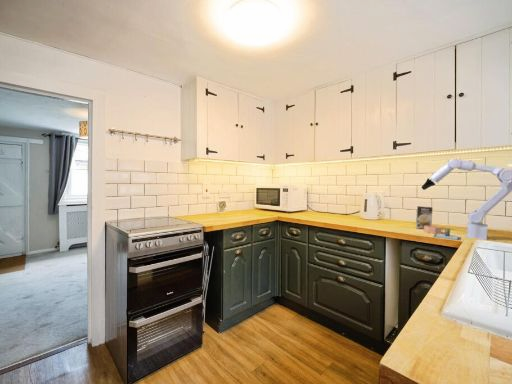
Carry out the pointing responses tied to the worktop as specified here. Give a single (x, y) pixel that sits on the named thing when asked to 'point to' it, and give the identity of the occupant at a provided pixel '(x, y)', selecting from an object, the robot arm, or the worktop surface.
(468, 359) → the worktop surface
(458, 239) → the mat
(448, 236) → the lid
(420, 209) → the coffee box
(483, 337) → the worktop surface
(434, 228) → the bowl
